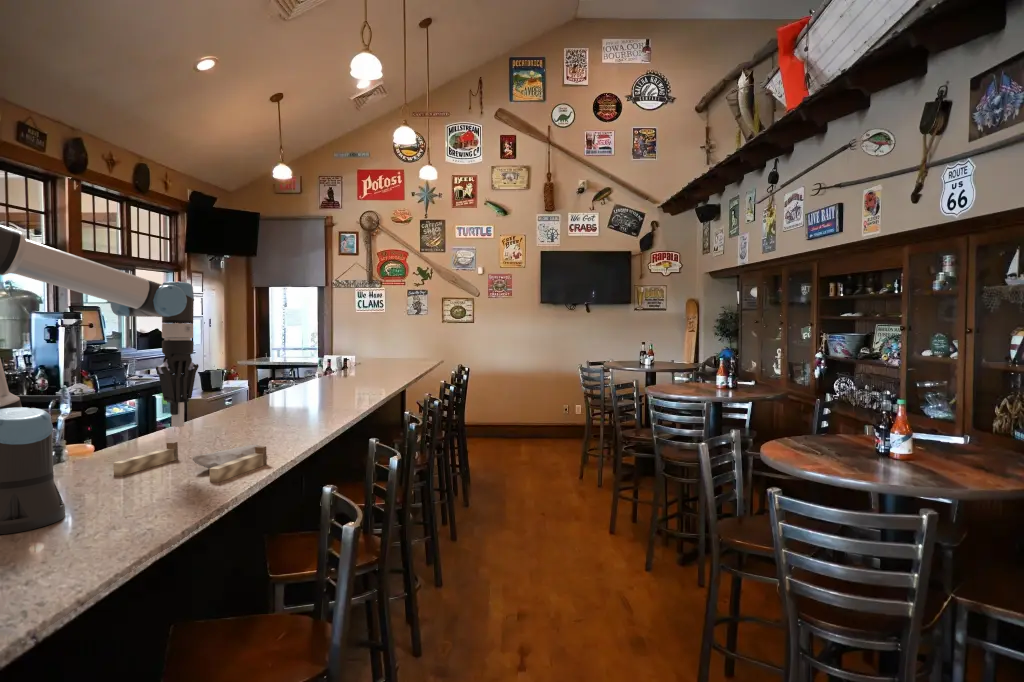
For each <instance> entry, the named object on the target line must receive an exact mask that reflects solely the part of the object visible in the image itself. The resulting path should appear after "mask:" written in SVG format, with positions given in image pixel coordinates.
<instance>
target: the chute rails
mask: <svg viewBox="0 0 1024 682" xmlns="http://www.w3.org/2000/svg"><path fill="white" fill-rule="evenodd" d="M165 444H166V448H164V449H163V448H162V449H160V450H156V451H151V452H148V453H145V454H144V453H143V454H141V455H136V456H134V457H130V458H125V459H121V460H119V461H114V462H113V463H112V464H113V465H112V467H113V476H115V477H122V476H123V477H124V476H126V475H130V474H132V473H136V472H139V471H144V470H146V469H149V468H153V467H156V466H159V465H163V464H166V463H170V462H173V461H176V460H178V459H179V450H178V449H179V447H178V446H179V445H178V441H168V442H166V443H165ZM267 462H268V461H267V446H265V445H260V446H257V447H255V453H254V454H251V455H248V456H245V457H242V458H239V459H236V460H233V461H230V462H227V463H224V464H221V465H218V466H215V467H212V468H209V469H208V470H209V483H220V482H223V481H225V480H226V481H227V480H228V479H231V478H234V477H236V476H237V477H238V476H239V475H241V474H245V473H246V472H249V471H252V470H255V469H258V468H260V467H264V466H266V465H268V463H267Z"/></svg>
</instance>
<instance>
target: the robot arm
mask: <svg viewBox="0 0 1024 682" xmlns="http://www.w3.org/2000/svg"><path fill="white" fill-rule="evenodd" d="M10 273H11V274H15V275H18V276H20V277H21V276H22V277H24V278H29V279H31V280H32V279H33V280H35V281H38V282H42V283H46V284H48V285H49V284H50V285H53V286H56V287H60V288H62V289H67V290H71V291H73V292H76V293H80V294H83V295H88V296H90V297H95V298H97V299H101V300H105V301H107V302H108V301H109V303H110V304H109V305H110V309H111V311H112V313H113V314H115V315H116V316H118V317H127V318H129V317H135V318H136V317H138V318H139V317H142V318H145V317H147V318H148V317H149V318H151V317H152V318H153V317H155V318H161V338H162V339H163V340H162V341H161V353H162V354H163V355H164V357H163V361H162V362H163V363H161V365H157V366H155V371H156V372H157V374H158V377H159V378H158V379H159V382H160V383H159V384H160V388H161V389H160V390H161V394H162V399H163V401H165V402H166V403H169V405H170V407H169V409H170V412H169V413H170V416H171V427H172V428H173V427H174V428H182V427H184V426H185V413H186V403H189V401H190V399H192V397H193V391H194V386H195V380H196V379H195V378H196V376H197V375H196V374H197V371H198V369H199V364H198V363H194V362H193V359H192V354H194V341H193V340H192V339H193V338H194V305H195V304H194V303H195V302H194V301H195V298H194V297H195V296H194V288H193V287H194V286H193V285H192V283H190V282H184V281H164V282H162V283H158V282H155V281H153V280H148V279H146V278H144V277H141V276H137V275H135V274H132V273H130V272H129V273H128V272H125V271H123V270H120V269H116V268H114V267H111V266H107V265H104V264H102V263H99V262H96V261H93V260H90V259H88V258H84V257H82V256H78V255H75V254H72V253H69V252H67V251H63V250H60V249H58V248H57V249H56V248H54V247H51V246H48V245H45V244H42V243H40V242H37V241H33V240H30V239H28V238H25V236H24V235H23V233H22V232H21V231H19V230H16V229H13V228H11V227H8V226H4V225H2V224H0V276H5V275H8V274H10ZM53 430H54V426H53V423H52V418H51V415H50V413H49V412H48V411H46V410H44V409H41V408H36V407H31V408H30V407H27V406H26V407H23V406H22V402H21V399H20V396H17V395H15V394H13V393H11V392H10V390H9V386H8V383H7V379H6V375H5V371H4V368H3V363H2V359H1V358H0V535H6V534H14V533H20V532H25V531H32V530H36V529H41V528H43V527H46V526H49V525H53V524H54V523H57V522H59V521H61V520H62V519H64V518H65V517H66V505H65V502H64V501H63V498H62V496H61V493H60V492H59V489H58V487H57V485H56V483H55V479H54V477H55V473H54V448H53V447H54V446H53Z"/></svg>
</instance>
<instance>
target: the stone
mask: <svg viewBox="0 0 1024 682" xmlns="http://www.w3.org/2000/svg"><path fill="white" fill-rule="evenodd" d="M257 446H261V445H260V444H259V445H258V444H249V445H245V446H243V445H242V446H236V447H234V448H228V449H223V450H222V449H221V450H216V451H215V452H214V451H213V452H208V453H204V454H203V453H202V454H201V453H200V454H198V455H194V456H192V461H193V463H195V464H197V465H199V466H201V467H204V468H206V469H208V470H209V468H212V467H215V466H218V465H221V464H224V463H227V462H230V461H233V460H236V459H239V458H242V457H245V456H248V455H251V454H254V453H255V447H257Z"/></svg>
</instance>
